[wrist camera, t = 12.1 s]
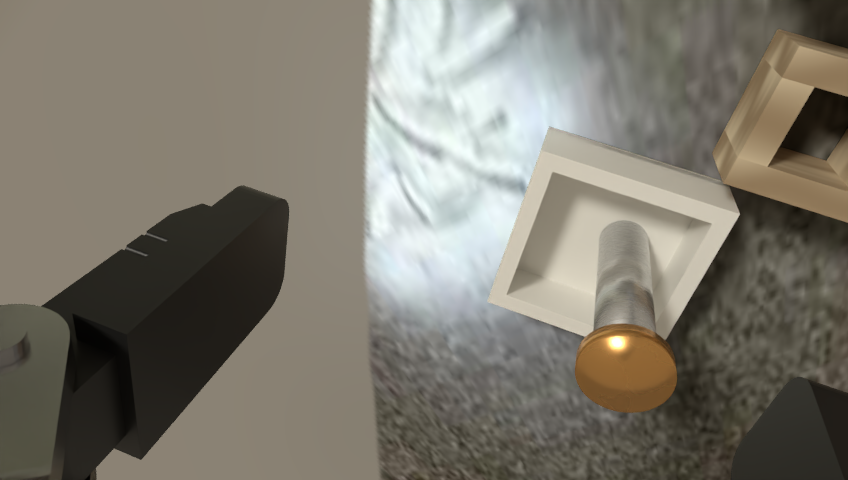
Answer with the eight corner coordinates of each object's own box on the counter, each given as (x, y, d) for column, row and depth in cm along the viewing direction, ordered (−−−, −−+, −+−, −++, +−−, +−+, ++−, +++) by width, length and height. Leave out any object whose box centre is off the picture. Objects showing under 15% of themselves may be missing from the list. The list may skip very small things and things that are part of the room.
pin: (602, 200, 37) (595, 323, 26) (672, 223, 37) (694, 358, 26) (577, 257, 39) (561, 391, 29) (642, 279, 39) (651, 425, 28)
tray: (549, 126, 37) (541, 150, 33) (727, 182, 35) (740, 214, 32) (498, 268, 42) (487, 301, 39) (650, 321, 41) (653, 361, 37)
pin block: (777, 29, 31) (799, 45, 27) (921, 69, 30) (965, 92, 26) (712, 153, 35) (723, 183, 31) (838, 192, 34) (865, 228, 30)
